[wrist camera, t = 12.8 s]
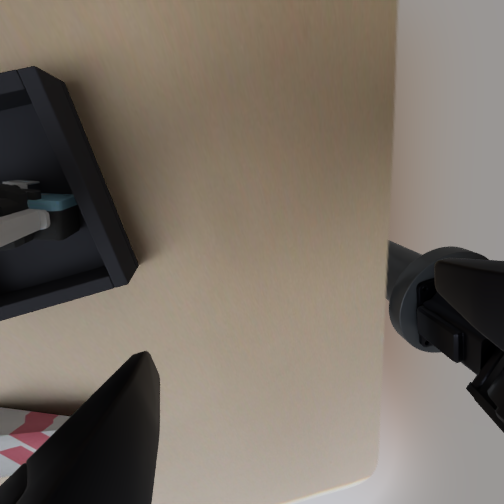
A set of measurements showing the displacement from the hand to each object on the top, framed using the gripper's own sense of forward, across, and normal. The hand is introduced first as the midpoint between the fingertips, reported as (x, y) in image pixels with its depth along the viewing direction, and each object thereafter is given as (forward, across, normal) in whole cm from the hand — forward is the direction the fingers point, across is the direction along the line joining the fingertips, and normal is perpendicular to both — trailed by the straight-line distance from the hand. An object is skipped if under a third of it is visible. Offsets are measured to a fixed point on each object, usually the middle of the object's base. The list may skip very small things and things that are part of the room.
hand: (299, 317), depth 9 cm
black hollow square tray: (+12, +12, -5) cm, 18 cm away
